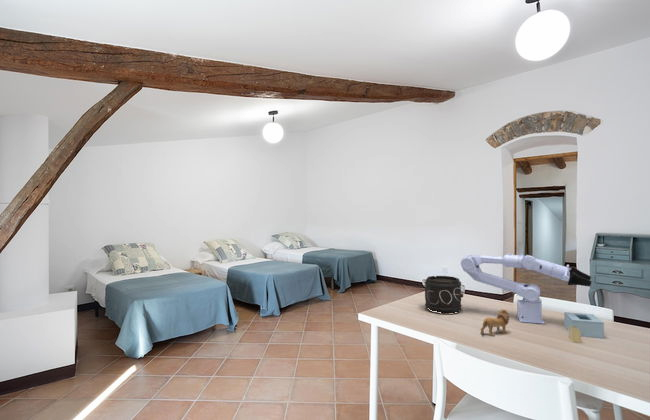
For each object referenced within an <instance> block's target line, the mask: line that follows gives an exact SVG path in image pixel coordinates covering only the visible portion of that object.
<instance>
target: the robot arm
mask: <svg viewBox="0 0 650 420" xmlns="http://www.w3.org/2000/svg"><path fill="white" fill-rule="evenodd" d="M483 264H497V265H500V264H501V265H503V266H504V267H505V268H515V269H521V268H523V269H525V270H527V271H535V272H537V273H540V274H544V275H546V276H549V277H553V278H555V279H558V280H562V281H563V282H564V281H565V282H567V285H568V286H583V287H591V285H592V280H591V278H592V276H590V275H589V274H587V273H585V272H583V271H581V270H579V269H578V268H576V266H573V265H572V266H571V268H569V267H570V264H566V266H564V265H560V264H557V263H555V262H552V261H548V260H544V259H540V258H536V257H534V256H533V255H530V254H526V255H524V254H520V255H519V254H512V253H511V252H510V253H507V254H504V256H495V255H483V254H474V255H473V254H471V255H470V254H469V255H466V256H465V257H463V258H461V261H460V265H461V268H462V271H464V272H465V273H466V274H468V275H469V276H470V277H471V279H472V280H474V281H476V282H477V283H482V284H485V285H488V286H492V287H494V288H497V289H501V290H504V291H507V292H511V293H514V294H515V295H517V296H519V297H521V298H522V299H517V301H516V306H517V307H516V309H517V311H516V312H517V313H516V315H517V319H518V321H519V322H520V323H531V324H544V325H545V323H546V322H545V321H544V320H543V307H542V306H543V305H542V303H543V302H542V299H541V298H540V296H541V291H542V290H541V288H540V286H538V285H537V284H534V283H525V282H517V281H513V280H510V279H507V278H504V277H500V276H497V275H494V274H491V273H487V272H483V270H482V269H481V267H480V265H483Z"/></svg>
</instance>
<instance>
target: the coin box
mask: <svg viewBox="0 0 650 420" xmlns="http://www.w3.org/2000/svg"><path fill="white" fill-rule="evenodd" d="M563 314H564V316H563V317H564V327H565V328H566V330H568V326H575V327H577V328H578V329H579V330H580V333H581V337H586V338H587V337H588V338H598V339H605V322H604V321H603V320H601V319H600V318H598V317H597V315H595V314H593V313H592V314H591V313H581V312H579V313H578V312H570V311H569V312H564V313H563Z"/></svg>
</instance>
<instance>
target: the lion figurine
mask: <svg viewBox="0 0 650 420" xmlns="http://www.w3.org/2000/svg"><path fill="white" fill-rule="evenodd" d="M497 313H498V314H497V316H496V317H485V318H484V320H483V323H482V326H481V328H480V334H481V336H484V335H485V331H484V330H485V329H486V328H487V327H488V329H489V330H488V332H489V334H490V336H492V337H496V335H495V333H493V329H494V328H496V332H497V333H500V332H501V330H500V327H501V328H502V333H503V334H504V335H507V332H506V328H507V327H506V326H507V325H508V324H509V323H510V322H509V321H510V313H509V312H508V311H507V309H504V308H503V309H499V310H498V312H497Z"/></svg>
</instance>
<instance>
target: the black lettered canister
mask: <svg viewBox="0 0 650 420" xmlns="http://www.w3.org/2000/svg"><path fill="white" fill-rule="evenodd" d="M424 285H425V287H424V300H425V301H424V302H425V303H424V307H426V309H427V308H429V309H430V310H432V311H437V312H441V313H455V312H459V313H460V311H461V310H462V306H463V305H462V298H464V293H462V282H461V281H460V278H458V277H454V276H449V275H436V276H435V275H432V276H431V275H430V276H427V277H426V279H425V280H424ZM459 310H460V311H459ZM455 314H456V313H455Z"/></svg>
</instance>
